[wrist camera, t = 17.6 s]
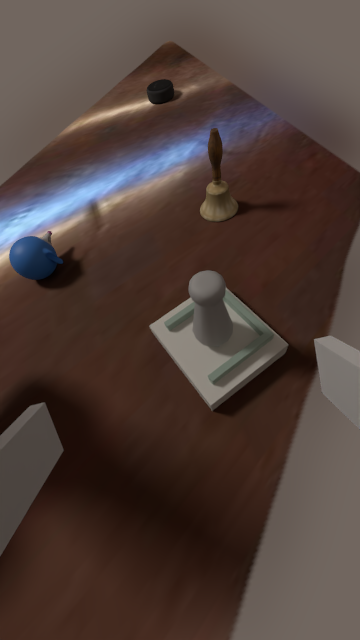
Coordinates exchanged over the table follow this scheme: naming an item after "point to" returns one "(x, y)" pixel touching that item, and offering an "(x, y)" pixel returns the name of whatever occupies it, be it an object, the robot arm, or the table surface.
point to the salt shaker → (210, 309)
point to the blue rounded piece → (34, 257)
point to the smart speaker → (160, 91)
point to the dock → (219, 349)
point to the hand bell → (217, 186)
